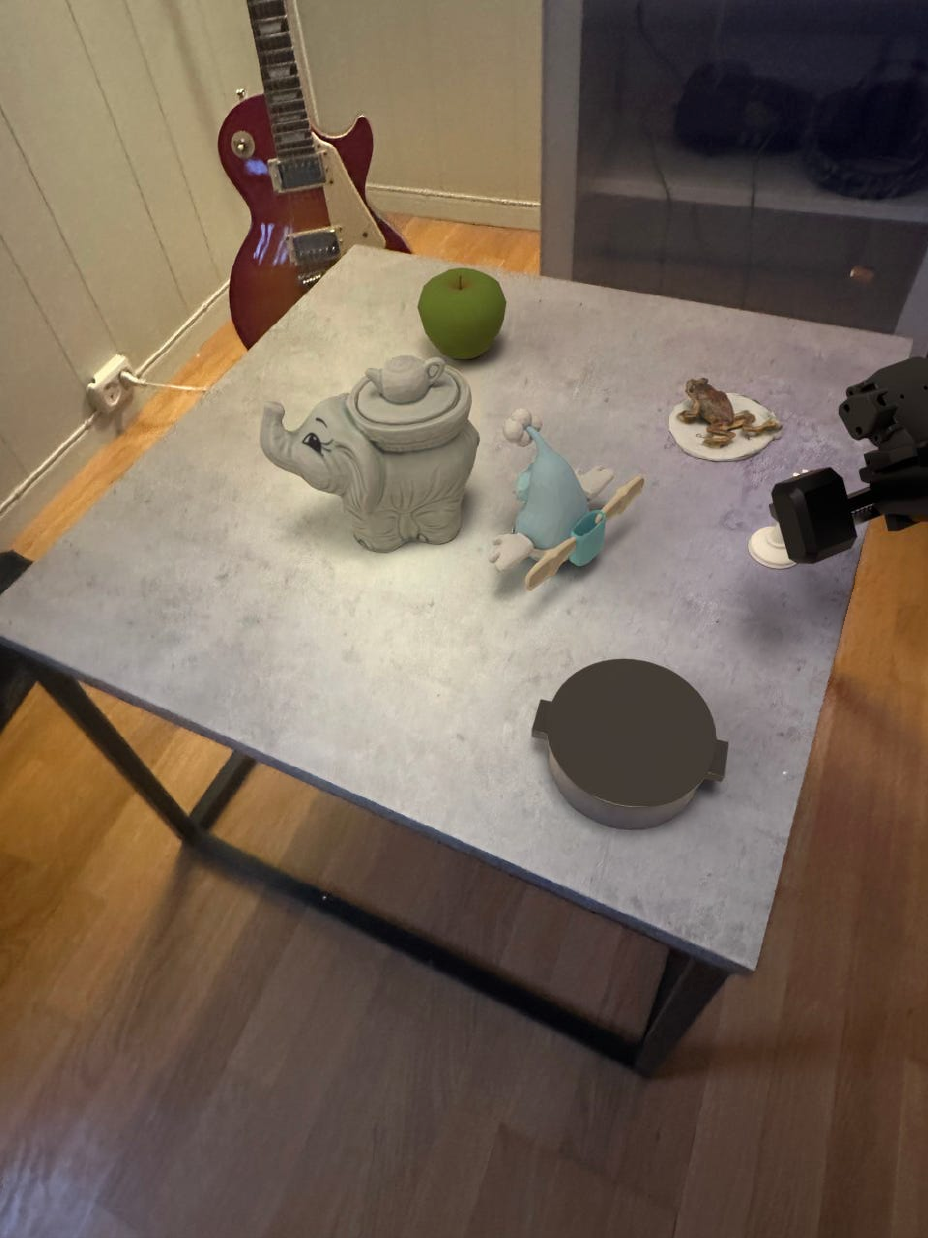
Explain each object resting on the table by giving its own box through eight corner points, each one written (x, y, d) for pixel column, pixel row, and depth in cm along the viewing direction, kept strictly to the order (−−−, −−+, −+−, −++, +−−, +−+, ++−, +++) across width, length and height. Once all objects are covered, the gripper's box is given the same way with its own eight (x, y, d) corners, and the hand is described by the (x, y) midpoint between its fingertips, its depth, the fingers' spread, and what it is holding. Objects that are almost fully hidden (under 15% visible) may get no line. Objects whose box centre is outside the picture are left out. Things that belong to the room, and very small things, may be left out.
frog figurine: (642, 425, 85) (647, 397, 82) (716, 380, 89) (722, 351, 85) (722, 478, 79) (730, 450, 76) (797, 427, 83) (807, 398, 80)
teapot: (289, 539, 78) (231, 386, 63) (372, 451, 85) (338, 295, 70) (422, 598, 72) (394, 444, 57) (499, 498, 79) (492, 338, 64)
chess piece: (792, 576, 71) (826, 498, 63) (740, 557, 72) (767, 480, 64) (808, 541, 73) (842, 462, 65) (757, 524, 75) (785, 445, 67)
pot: (725, 712, 63) (738, 680, 59) (707, 856, 56) (721, 831, 52) (552, 674, 66) (554, 641, 62) (515, 806, 59) (515, 779, 55)
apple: (418, 333, 98) (408, 259, 90) (497, 320, 99) (494, 245, 91) (430, 383, 92) (421, 308, 84) (515, 369, 93) (513, 292, 85)
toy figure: (562, 480, 80) (568, 357, 68) (643, 526, 76) (665, 403, 64) (452, 571, 74) (438, 453, 62) (533, 628, 69) (535, 513, 57)
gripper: (1067, 312, 50) (883, 366, 65) (831, 397, 46) (696, 434, 61) (1098, 475, 51) (913, 491, 67) (874, 569, 48) (733, 563, 63)
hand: (816, 492), depth 64 cm, fingers open, 9 cm apart
